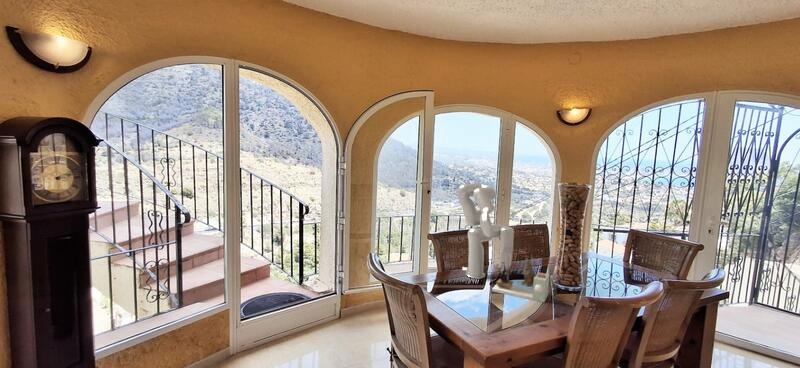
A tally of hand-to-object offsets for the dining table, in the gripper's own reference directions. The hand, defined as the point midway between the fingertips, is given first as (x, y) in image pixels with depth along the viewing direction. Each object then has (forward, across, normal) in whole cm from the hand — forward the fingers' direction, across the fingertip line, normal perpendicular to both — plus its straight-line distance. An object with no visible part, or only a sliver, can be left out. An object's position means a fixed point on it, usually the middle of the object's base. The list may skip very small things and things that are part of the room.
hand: (504, 279), depth 220 cm
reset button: (-4, 0, +20) cm, 20 cm away
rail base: (+6, 0, +6) cm, 9 cm away
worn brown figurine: (+7, -19, +10) cm, 23 cm away
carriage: (+4, 0, 0) cm, 4 cm away
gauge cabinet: (+6, 0, +20) cm, 21 cm away
